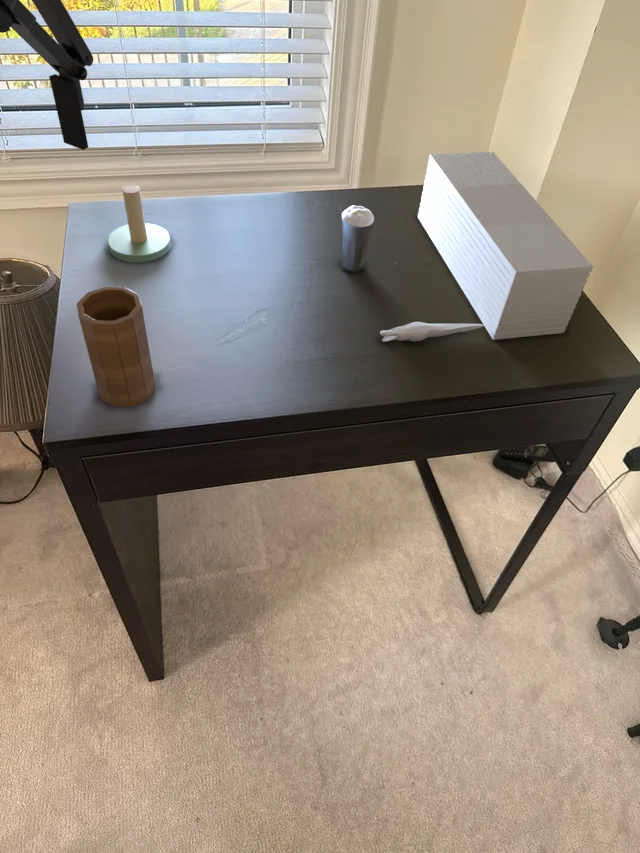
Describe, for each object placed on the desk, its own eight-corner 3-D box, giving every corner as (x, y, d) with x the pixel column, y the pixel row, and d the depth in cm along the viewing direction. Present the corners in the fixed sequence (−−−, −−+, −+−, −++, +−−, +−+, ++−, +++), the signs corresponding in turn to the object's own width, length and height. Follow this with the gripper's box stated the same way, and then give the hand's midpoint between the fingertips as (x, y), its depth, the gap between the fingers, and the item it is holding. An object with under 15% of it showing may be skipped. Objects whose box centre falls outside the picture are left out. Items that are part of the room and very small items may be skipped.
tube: (102, 412, 73) (80, 329, 64) (96, 373, 77) (74, 290, 68) (159, 401, 75) (145, 319, 66) (149, 364, 79) (135, 282, 70)
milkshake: (328, 260, 97) (333, 198, 90) (361, 256, 98) (369, 194, 91) (337, 277, 94) (343, 214, 87) (371, 272, 95) (380, 210, 88)
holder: (113, 266, 92) (101, 208, 86) (105, 233, 98) (94, 177, 91) (175, 258, 95) (169, 201, 88) (165, 226, 100) (158, 171, 94)
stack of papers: (417, 217, 107) (429, 153, 99) (476, 214, 109) (493, 151, 101) (492, 340, 86) (516, 272, 79) (563, 333, 89) (593, 266, 81)
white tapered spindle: (381, 347, 84) (383, 336, 82) (375, 334, 86) (377, 323, 84) (486, 336, 87) (490, 325, 86) (479, 324, 89) (482, 313, 87)
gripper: (-186, -78, 39) (-59, 234, 55) (105, -117, 54) (140, 136, 70) (-259, -99, 41) (-116, 207, 57) (41, -130, 56) (88, 118, 72)
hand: (25, 169), depth 63 cm, fingers open, 13 cm apart
